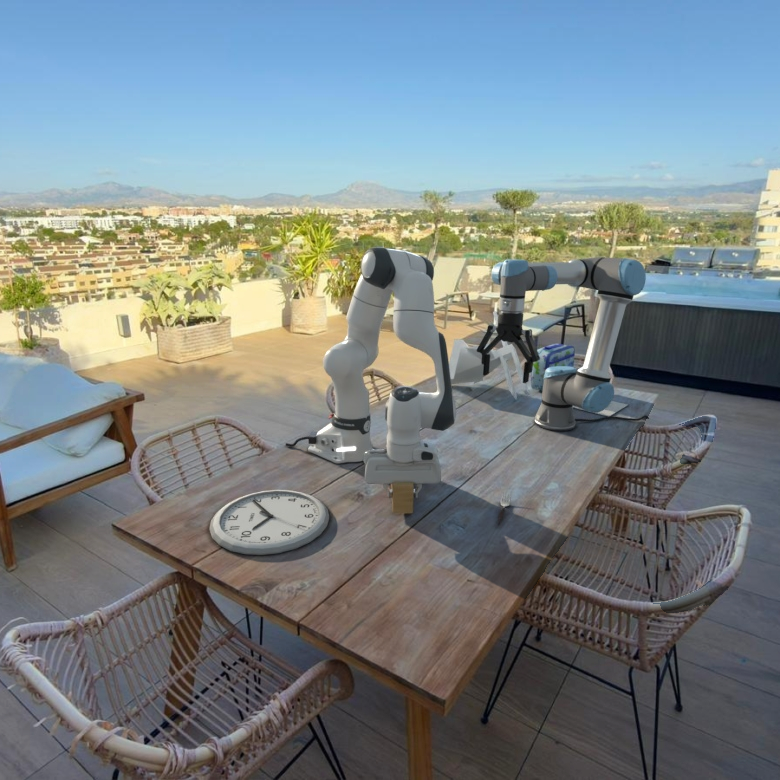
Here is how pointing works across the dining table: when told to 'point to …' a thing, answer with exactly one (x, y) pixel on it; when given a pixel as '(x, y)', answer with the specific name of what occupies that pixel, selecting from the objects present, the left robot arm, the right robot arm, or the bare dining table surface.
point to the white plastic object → (470, 368)
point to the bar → (402, 497)
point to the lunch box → (551, 362)
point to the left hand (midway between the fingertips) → (402, 496)
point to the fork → (504, 504)
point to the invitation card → (610, 408)
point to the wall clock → (269, 522)
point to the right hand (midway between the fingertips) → (505, 378)
